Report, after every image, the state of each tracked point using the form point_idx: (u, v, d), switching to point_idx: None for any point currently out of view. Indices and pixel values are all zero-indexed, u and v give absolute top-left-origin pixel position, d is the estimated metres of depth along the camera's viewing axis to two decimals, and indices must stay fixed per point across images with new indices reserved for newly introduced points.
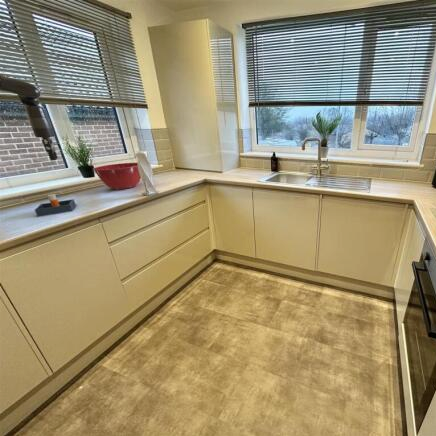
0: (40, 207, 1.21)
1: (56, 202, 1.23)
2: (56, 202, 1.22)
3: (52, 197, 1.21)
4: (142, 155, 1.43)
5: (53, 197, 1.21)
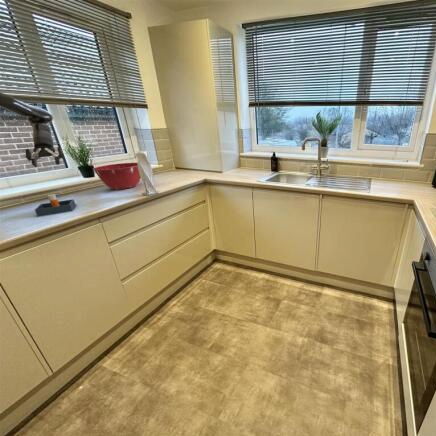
0: (40, 207, 1.21)
1: (56, 202, 1.23)
2: (56, 202, 1.22)
3: (52, 197, 1.21)
4: (142, 155, 1.43)
5: (53, 197, 1.21)
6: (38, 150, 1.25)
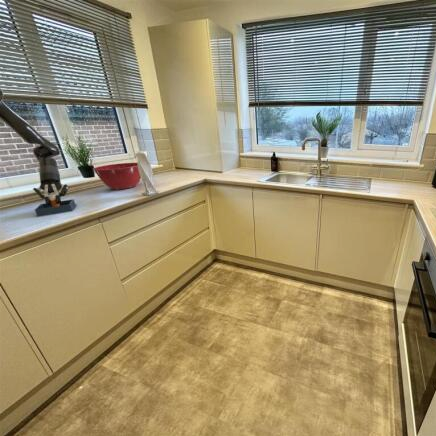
0: (40, 207, 1.21)
1: (56, 202, 1.23)
2: (56, 202, 1.22)
3: (52, 197, 1.21)
4: (142, 155, 1.43)
5: (53, 197, 1.21)
6: (45, 186, 1.21)
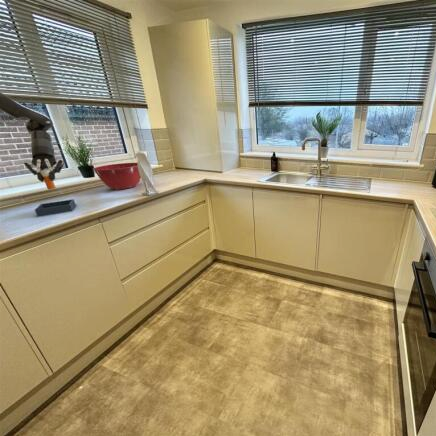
0: (40, 207, 1.21)
1: (50, 179, 1.10)
2: (49, 179, 1.10)
3: (45, 173, 1.08)
4: (142, 155, 1.43)
5: (46, 173, 1.09)
6: (37, 161, 1.09)
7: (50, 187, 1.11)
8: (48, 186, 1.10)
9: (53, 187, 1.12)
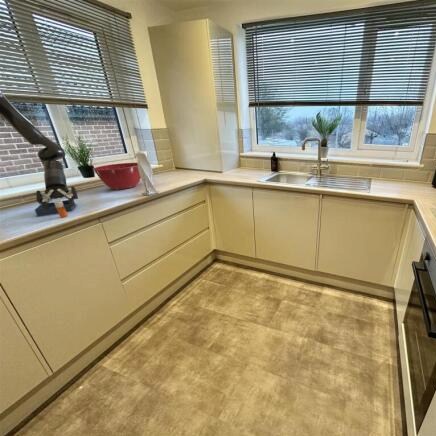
0: (40, 207, 1.21)
1: (63, 209, 1.14)
2: (63, 209, 1.14)
3: (59, 204, 1.12)
4: (142, 155, 1.43)
5: (60, 204, 1.13)
6: (50, 192, 1.13)
7: (63, 217, 1.15)
8: (61, 216, 1.14)
9: None
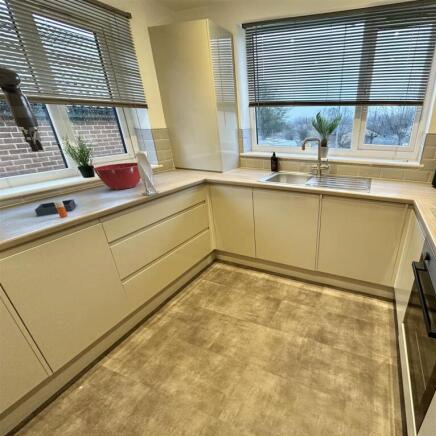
0: (40, 207, 1.21)
1: (63, 209, 1.14)
2: (63, 209, 1.14)
3: (59, 204, 1.12)
4: (142, 155, 1.43)
5: (60, 204, 1.13)
6: None
7: (63, 217, 1.15)
8: (61, 216, 1.14)
9: None
